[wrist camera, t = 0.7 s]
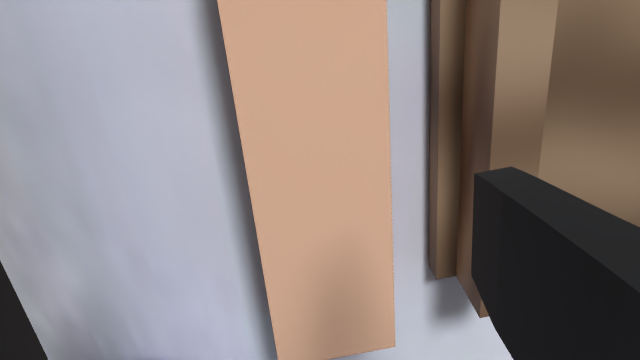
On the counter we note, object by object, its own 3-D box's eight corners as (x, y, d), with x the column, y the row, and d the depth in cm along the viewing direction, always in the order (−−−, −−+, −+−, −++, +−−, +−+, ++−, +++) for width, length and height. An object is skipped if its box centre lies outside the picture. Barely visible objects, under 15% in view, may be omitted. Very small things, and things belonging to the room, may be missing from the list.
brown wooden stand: (724, 212, 24) (787, 259, 21) (429, 265, 23) (458, 321, 20) (832, -130, 18) (939, -121, 15) (431, -80, 16) (473, -61, 14)
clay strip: (374, 289, 23) (395, 346, 21) (270, 307, 23) (279, 368, 20) (355, -113, 16) (383, -101, 13) (203, -96, 16) (203, -80, 13)
